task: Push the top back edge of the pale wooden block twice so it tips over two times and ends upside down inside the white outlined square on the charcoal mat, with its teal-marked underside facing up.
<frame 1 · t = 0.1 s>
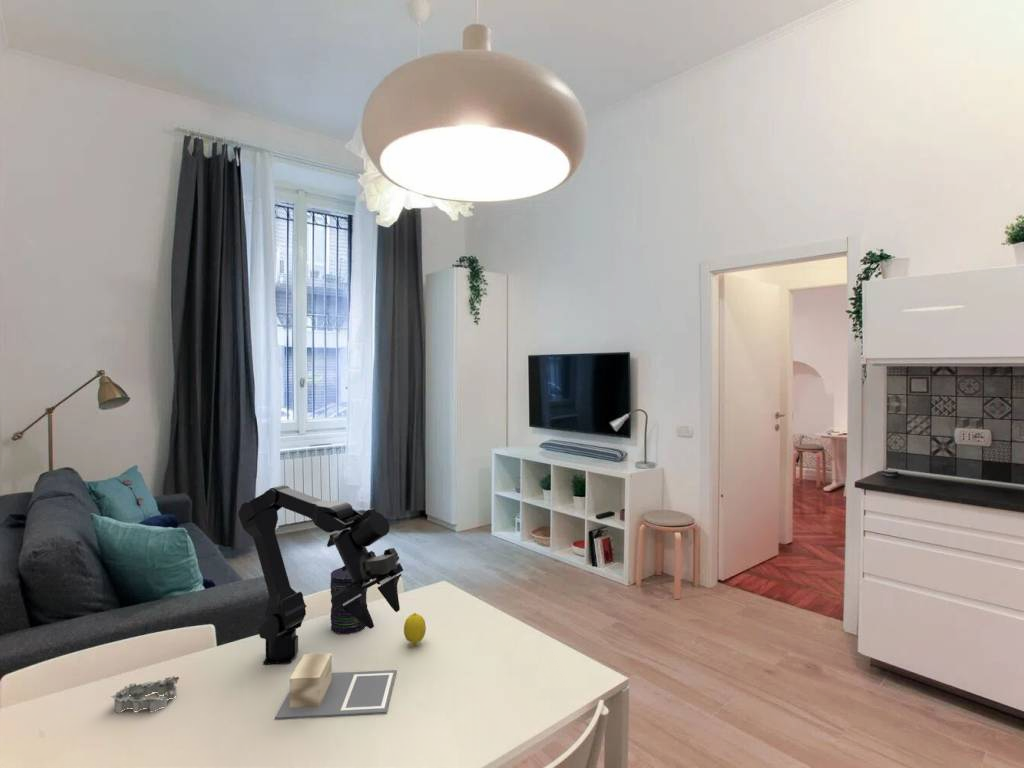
hand: (385, 619, 120), 15 cm above the table, tool tilted 35°, fingers open, 9 cm apart
storage jar: (349, 626, 150), on the table
lemon: (414, 644, 140), on the table
mat: (340, 693, 118), on the table
block: (311, 693, 117), resting on mat
egg carton: (145, 705, 114), on the table
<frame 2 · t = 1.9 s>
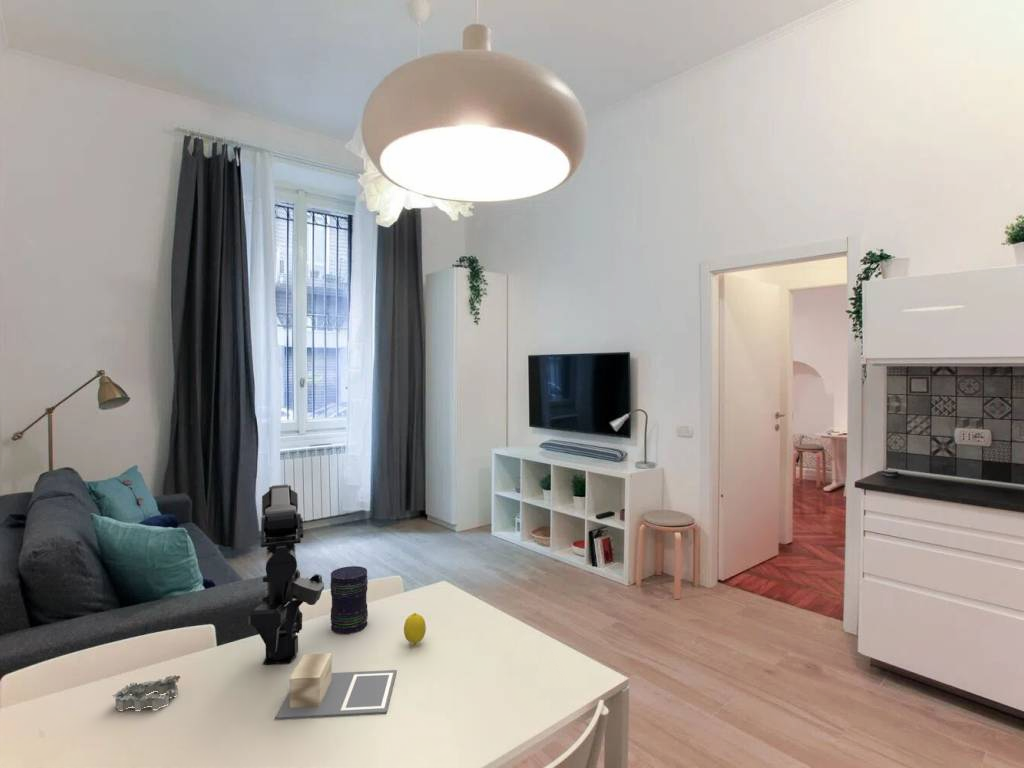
hand: (281, 643, 116), 12 cm above the table, tool pointing down, fingers open, 9 cm apart
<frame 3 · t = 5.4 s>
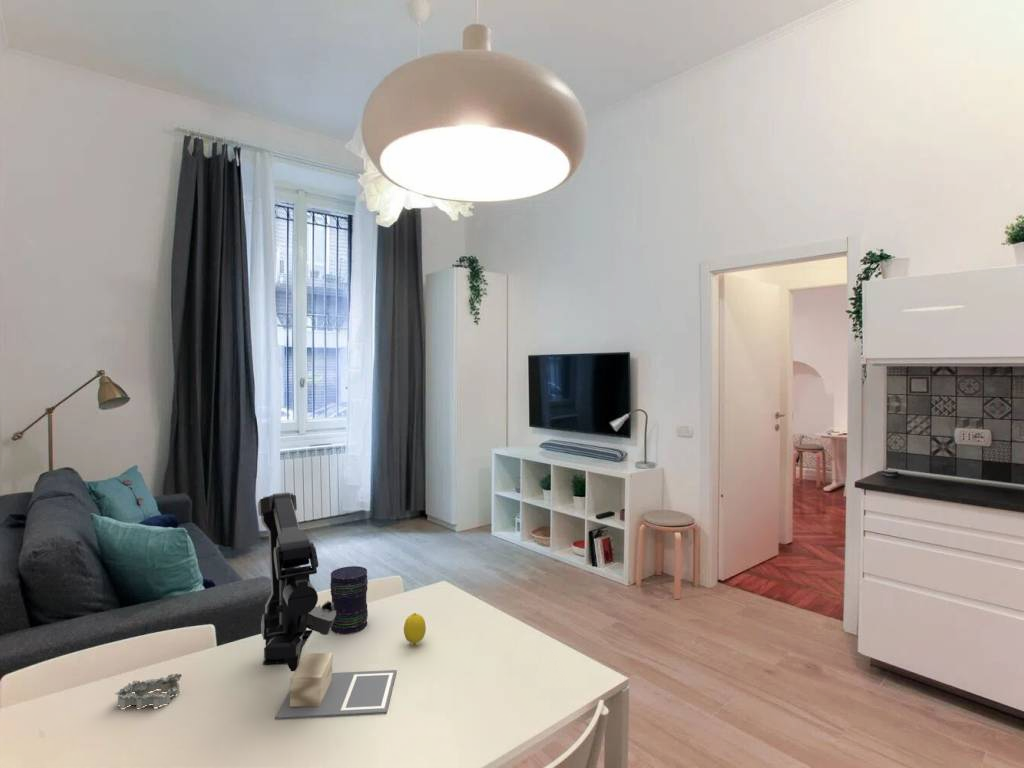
hand: (294, 670, 117), 5 cm above the table, tool pointing down, fingers closed, pressing on block
block: (311, 692, 117), point 1 cm above the table, touching gripper, mat
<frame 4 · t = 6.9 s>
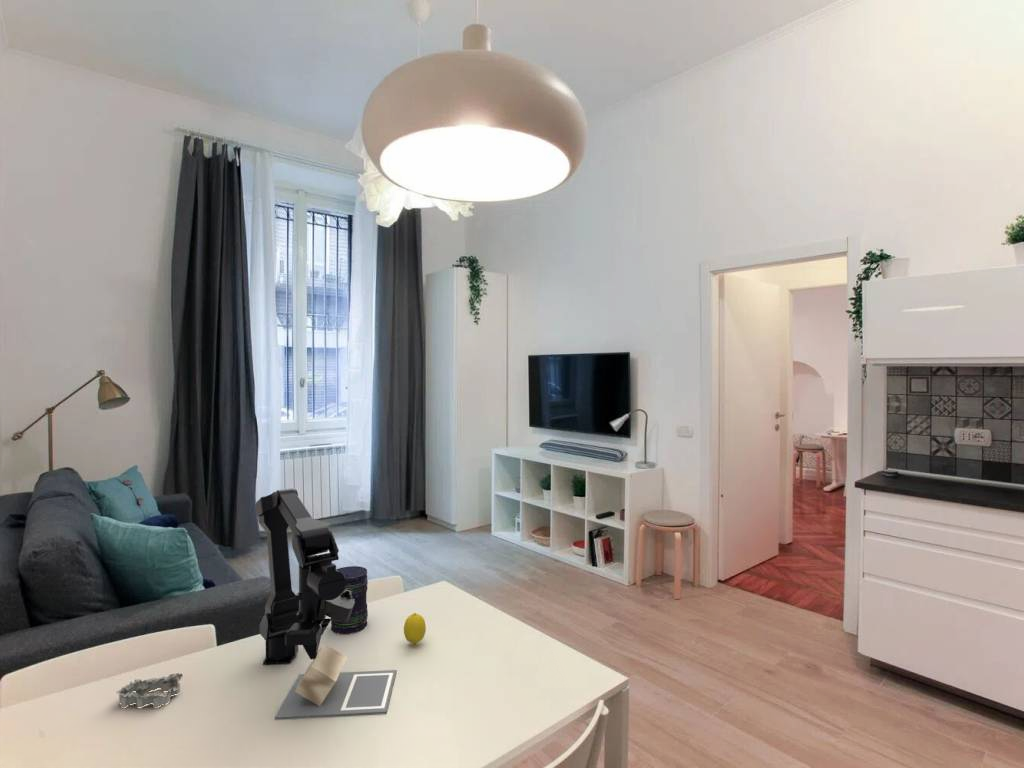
hand: (313, 658, 117), 8 cm above the table, tool pointing down, fingers closed, pressing on block
block: (314, 685, 117), point 2 cm above the table, tilted 34°, touching gripper, mat
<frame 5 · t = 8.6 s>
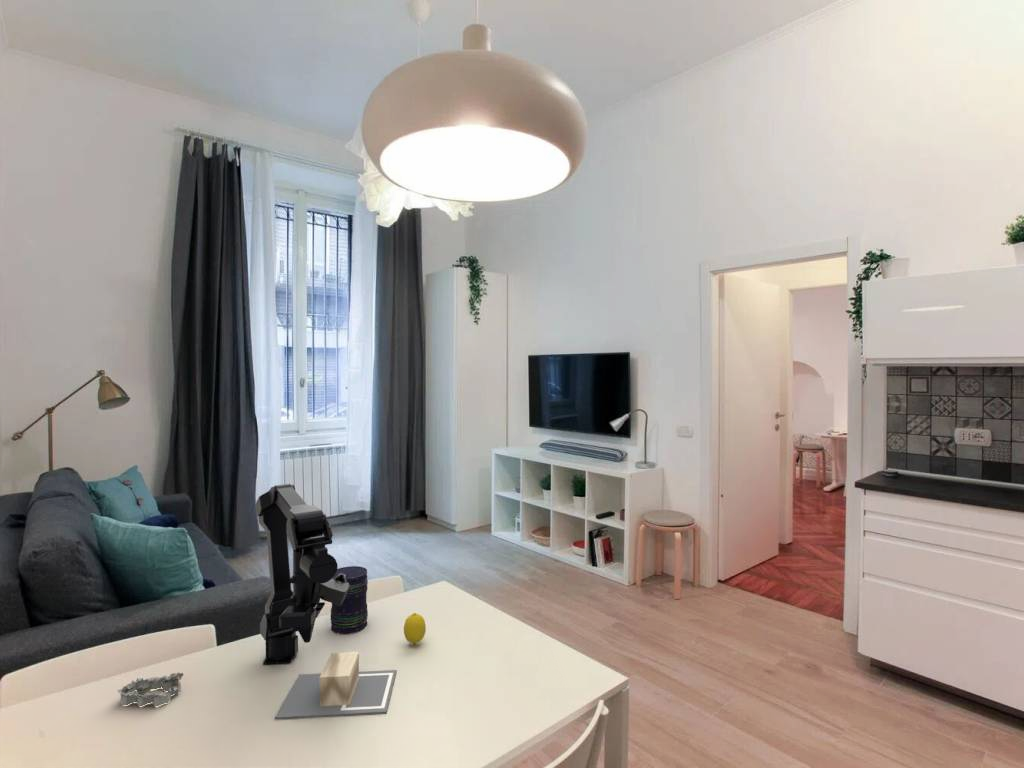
hand: (307, 641, 117), 12 cm above the table, tool pointing down, fingers closed
block: (325, 678, 117), point 3 cm above the table, tilted 90°, touching mat
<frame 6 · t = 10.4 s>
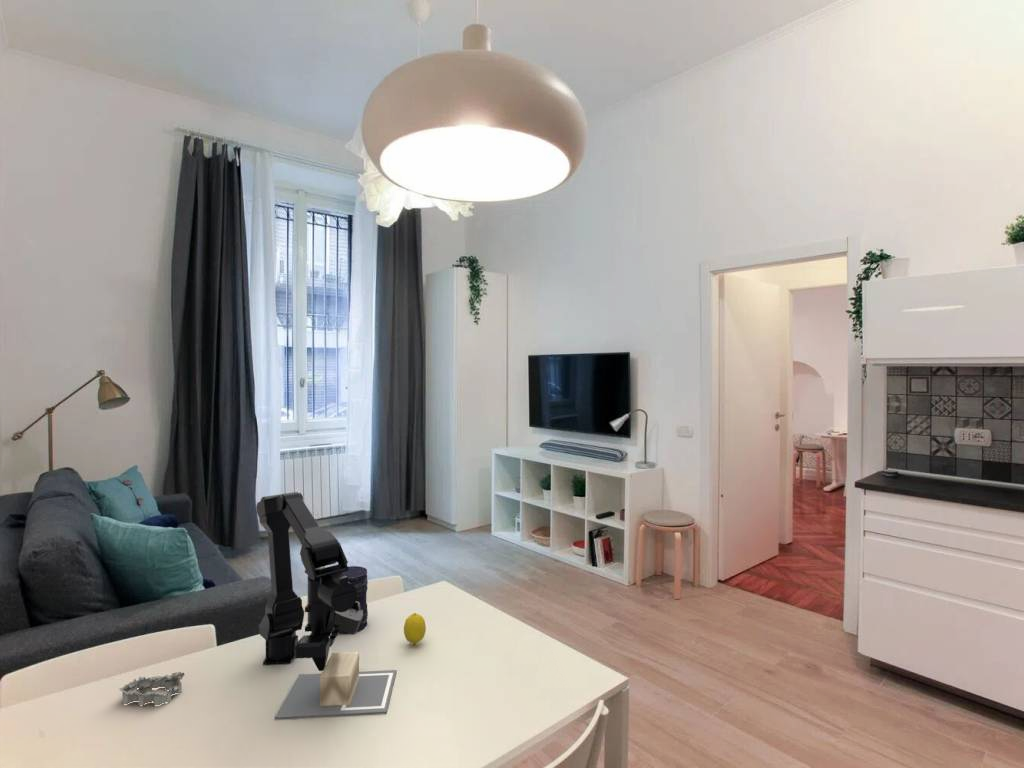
hand: (321, 670, 117), 5 cm above the table, tool pointing down, fingers closed, pressing on block
block: (326, 678, 117), point 3 cm above the table, tilted 91°, touching gripper, mat
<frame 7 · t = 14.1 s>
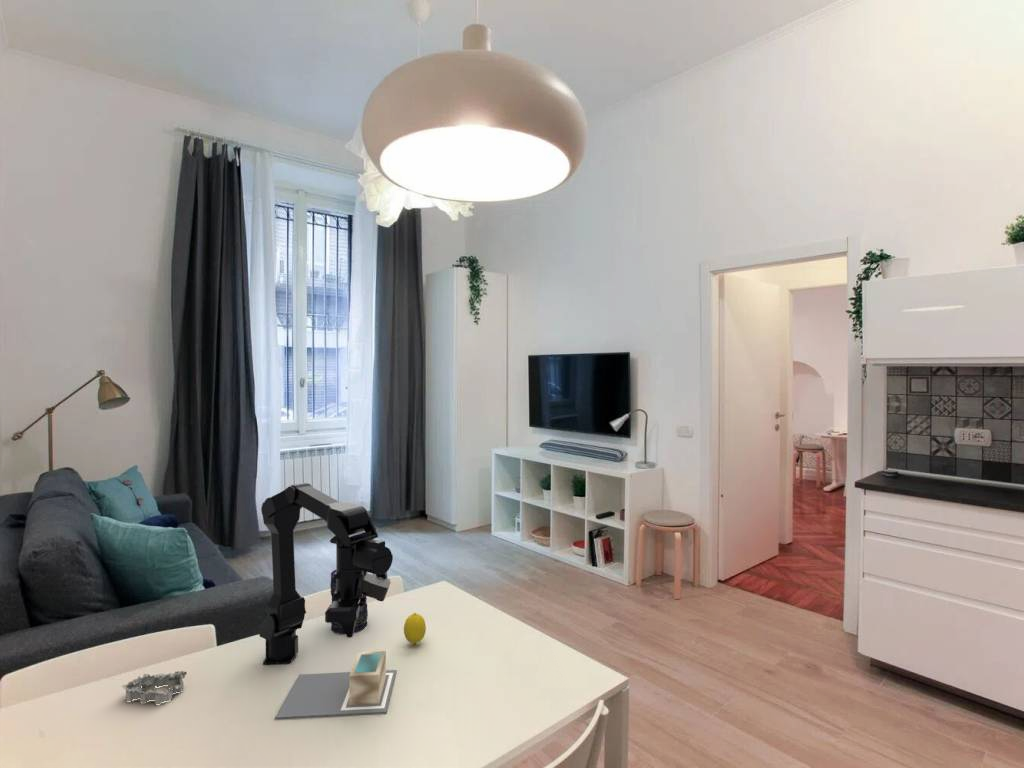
hand: (350, 636, 119), 12 cm above the table, tool pointing down, fingers closed
block: (368, 662, 118), point 6 cm above the table, tilted 180°, touching mat
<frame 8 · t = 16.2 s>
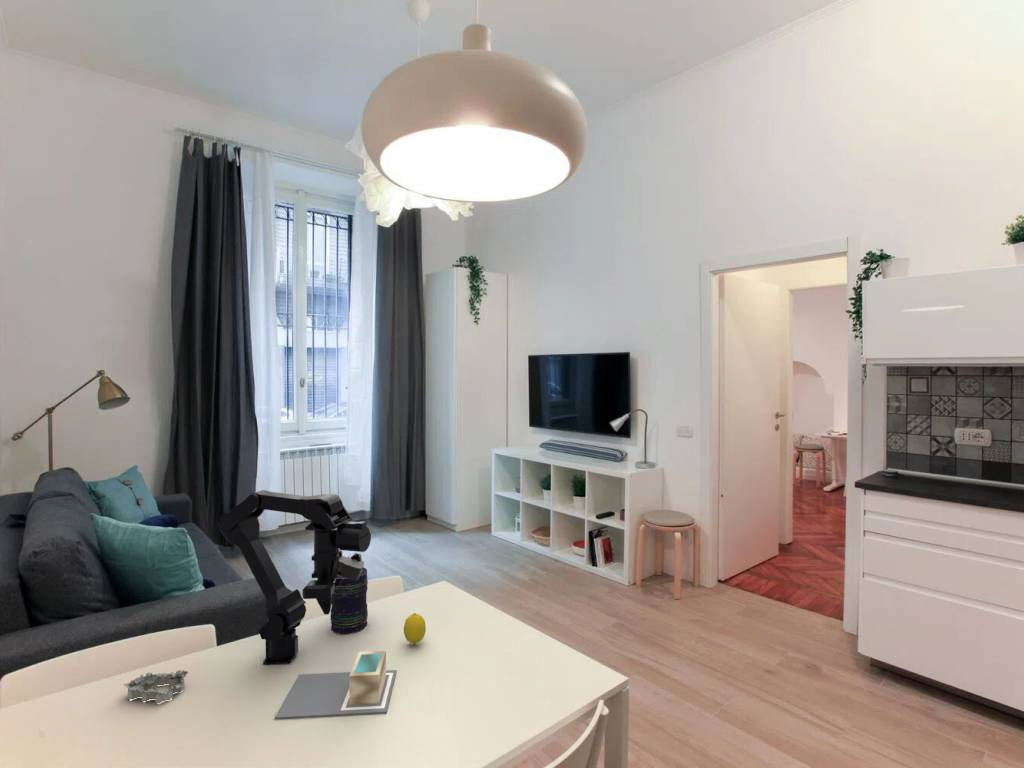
hand: (326, 613, 130), 12 cm above the table, tool pointing down, fingers closed
at the end: block tilted 180°; block 0.5 cm from the target spot, point 6.4 cm above the table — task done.
